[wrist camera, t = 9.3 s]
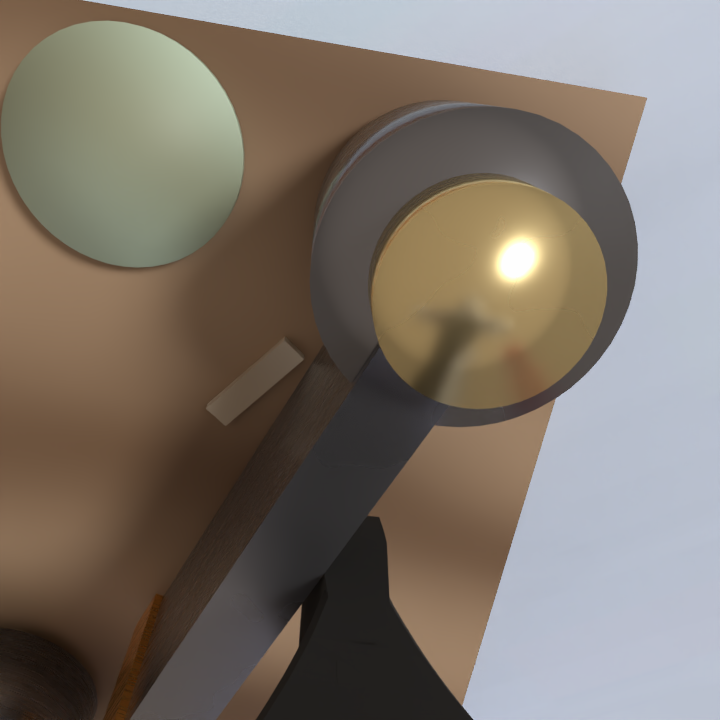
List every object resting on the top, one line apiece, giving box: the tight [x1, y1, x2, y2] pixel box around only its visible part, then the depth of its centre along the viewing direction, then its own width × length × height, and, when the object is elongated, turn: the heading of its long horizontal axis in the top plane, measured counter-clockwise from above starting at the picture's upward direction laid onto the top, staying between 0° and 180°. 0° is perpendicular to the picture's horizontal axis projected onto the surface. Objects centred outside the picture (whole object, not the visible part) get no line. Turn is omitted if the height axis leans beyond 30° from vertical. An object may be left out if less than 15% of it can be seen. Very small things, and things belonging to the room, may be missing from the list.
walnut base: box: [0, 0, 647, 720], centre depth 13 cm, size 17×16×2 cm
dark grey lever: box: [103, 100, 638, 720], centre depth 10 cm, size 12×4×4 cm, turn 148°
